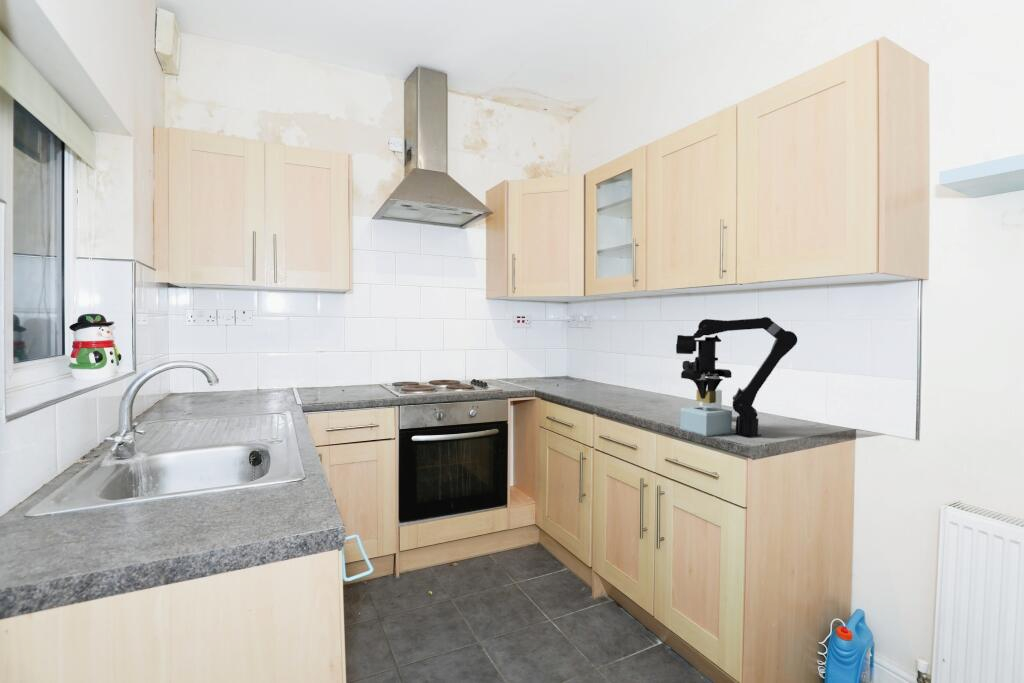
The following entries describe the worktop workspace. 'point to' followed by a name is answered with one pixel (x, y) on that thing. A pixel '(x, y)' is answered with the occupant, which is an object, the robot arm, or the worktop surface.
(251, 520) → the worktop surface
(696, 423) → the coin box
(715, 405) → the supplement box
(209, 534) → the worktop surface
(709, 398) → the tall tan wooden block
